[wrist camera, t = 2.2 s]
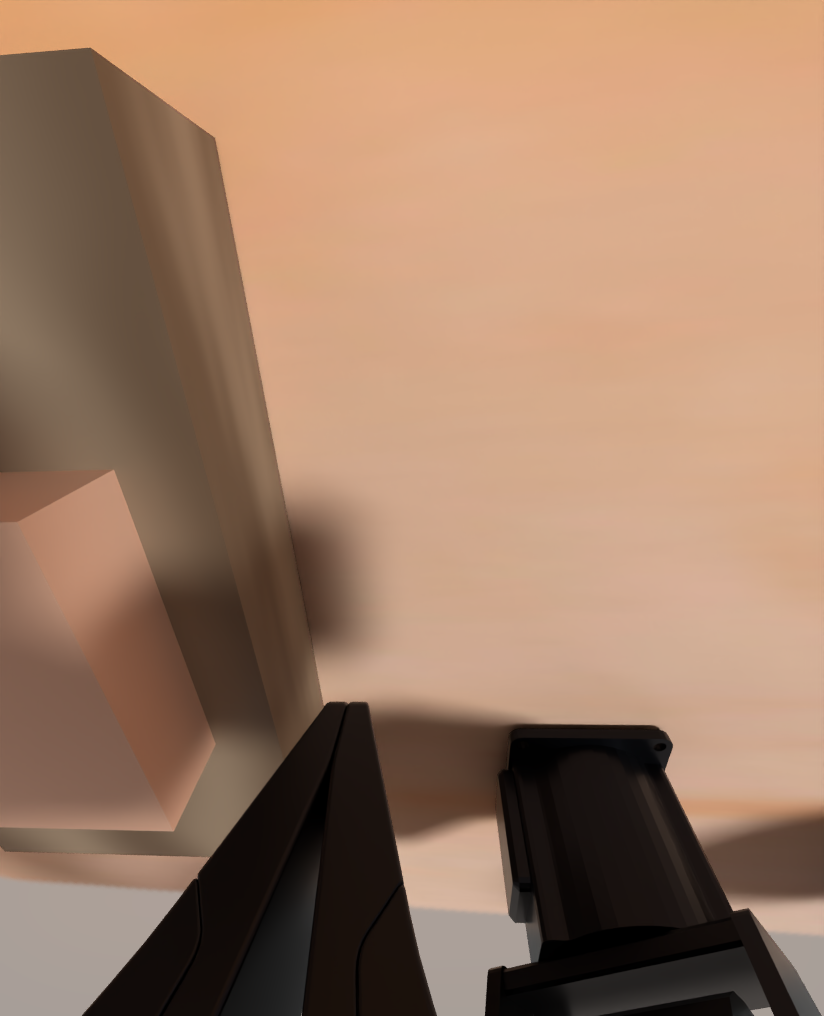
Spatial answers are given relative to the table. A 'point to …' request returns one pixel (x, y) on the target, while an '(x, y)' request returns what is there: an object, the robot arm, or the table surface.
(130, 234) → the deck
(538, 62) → the table surface
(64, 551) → the salmon brown block
